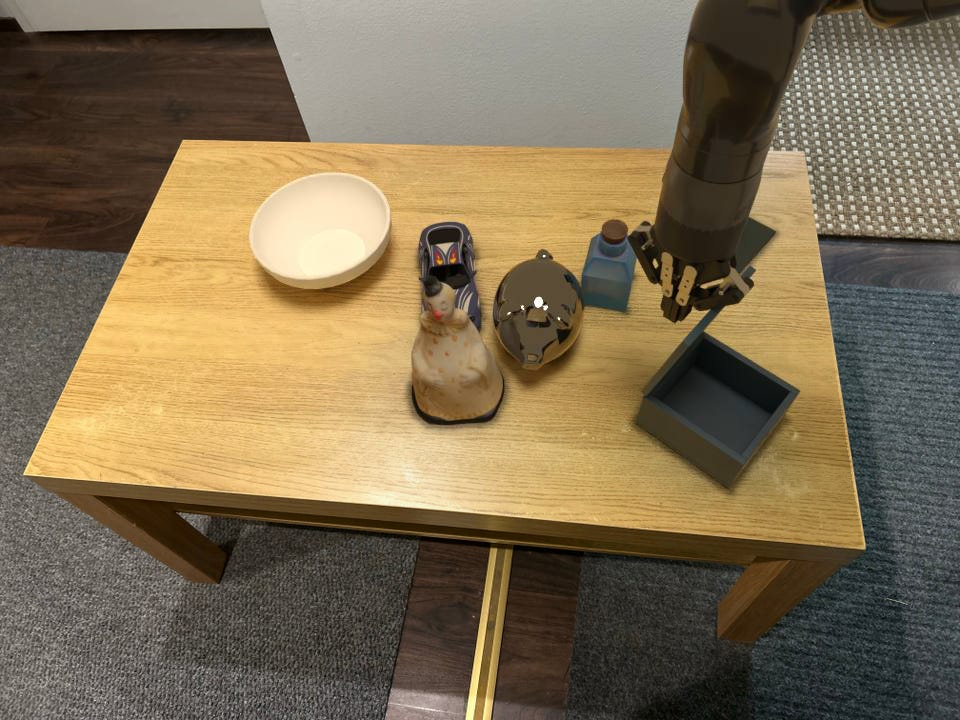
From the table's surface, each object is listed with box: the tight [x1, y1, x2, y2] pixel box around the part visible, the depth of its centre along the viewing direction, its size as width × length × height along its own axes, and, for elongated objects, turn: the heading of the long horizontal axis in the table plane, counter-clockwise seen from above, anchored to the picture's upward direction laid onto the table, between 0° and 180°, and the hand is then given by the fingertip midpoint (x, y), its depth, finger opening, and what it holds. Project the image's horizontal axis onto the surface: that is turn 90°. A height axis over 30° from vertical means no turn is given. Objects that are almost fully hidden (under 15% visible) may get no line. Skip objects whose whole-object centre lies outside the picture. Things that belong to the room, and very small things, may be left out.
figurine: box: [410, 275, 506, 426], centre depth 78 cm, size 12×10×20 cm
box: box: [635, 331, 801, 489], centre depth 79 cm, size 13×12×7 cm
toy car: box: [418, 221, 482, 333], centre depth 93 cm, size 8×18×5 cm, turn 5°
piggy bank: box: [492, 248, 585, 371], centre depth 85 cm, size 11×15×12 cm
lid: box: [640, 265, 757, 396], centre depth 72 cm, size 13×12×1 cm
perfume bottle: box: [580, 218, 638, 313], centre depth 88 cm, size 6×6×12 cm
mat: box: [735, 216, 777, 275], centre depth 96 cm, size 12×10×1 cm
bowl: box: [248, 171, 393, 290], centre depth 97 cm, size 20×20×7 cm
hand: (673, 314), depth 72 cm, fingers closed
